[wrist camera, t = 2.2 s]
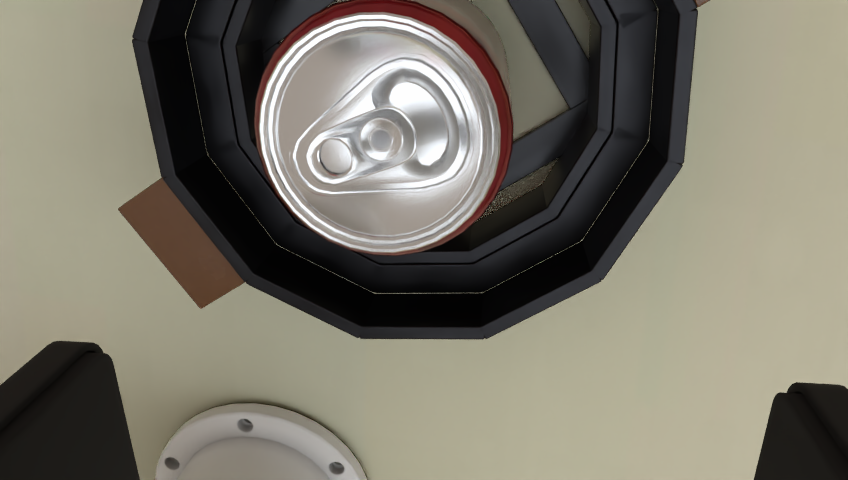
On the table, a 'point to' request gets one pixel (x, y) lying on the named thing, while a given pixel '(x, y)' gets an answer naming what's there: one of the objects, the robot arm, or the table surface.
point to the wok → (464, 254)
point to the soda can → (387, 122)
